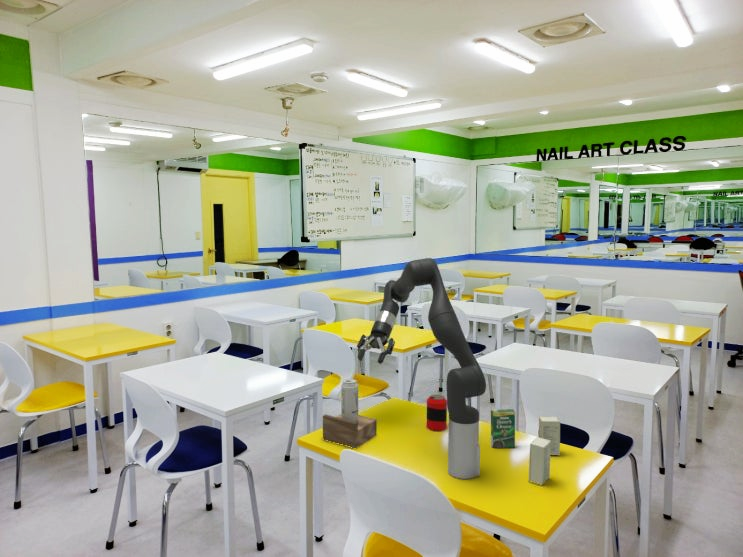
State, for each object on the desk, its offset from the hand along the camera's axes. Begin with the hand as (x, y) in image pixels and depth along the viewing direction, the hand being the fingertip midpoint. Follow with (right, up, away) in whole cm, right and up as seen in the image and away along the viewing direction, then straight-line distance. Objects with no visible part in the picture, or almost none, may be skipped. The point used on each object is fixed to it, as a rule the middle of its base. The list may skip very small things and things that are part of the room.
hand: (369, 361), depth 193 cm
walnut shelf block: (-7, -27, -6) cm, 28 cm away
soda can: (+26, -26, +4) cm, 37 cm away
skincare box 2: (+52, -30, -37) cm, 70 cm away
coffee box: (+46, -28, -13) cm, 56 cm away
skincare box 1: (+61, -28, -19) cm, 70 cm away
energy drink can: (-7, -21, -6) cm, 23 cm away
